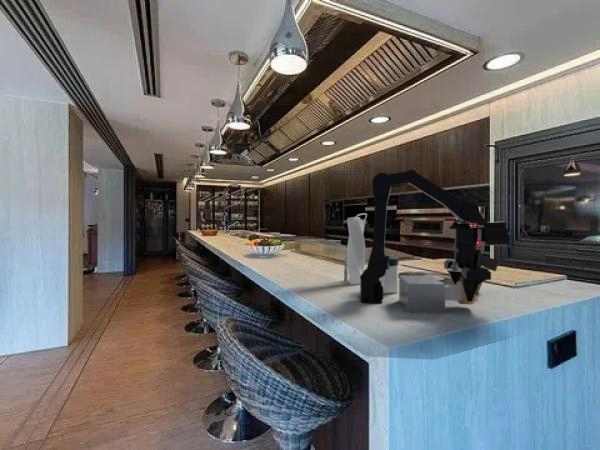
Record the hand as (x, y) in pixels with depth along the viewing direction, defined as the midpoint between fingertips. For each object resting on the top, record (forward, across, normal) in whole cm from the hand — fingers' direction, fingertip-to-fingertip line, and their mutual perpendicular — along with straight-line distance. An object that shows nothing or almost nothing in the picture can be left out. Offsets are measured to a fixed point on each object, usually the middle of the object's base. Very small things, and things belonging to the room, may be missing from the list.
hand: (464, 298), depth 93 cm
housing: (+3, 0, +12) cm, 13 cm away
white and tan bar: (+2, 0, +5) cm, 6 cm away
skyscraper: (+3, +31, +30) cm, 43 cm away
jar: (+3, +19, +20) cm, 27 cm away
